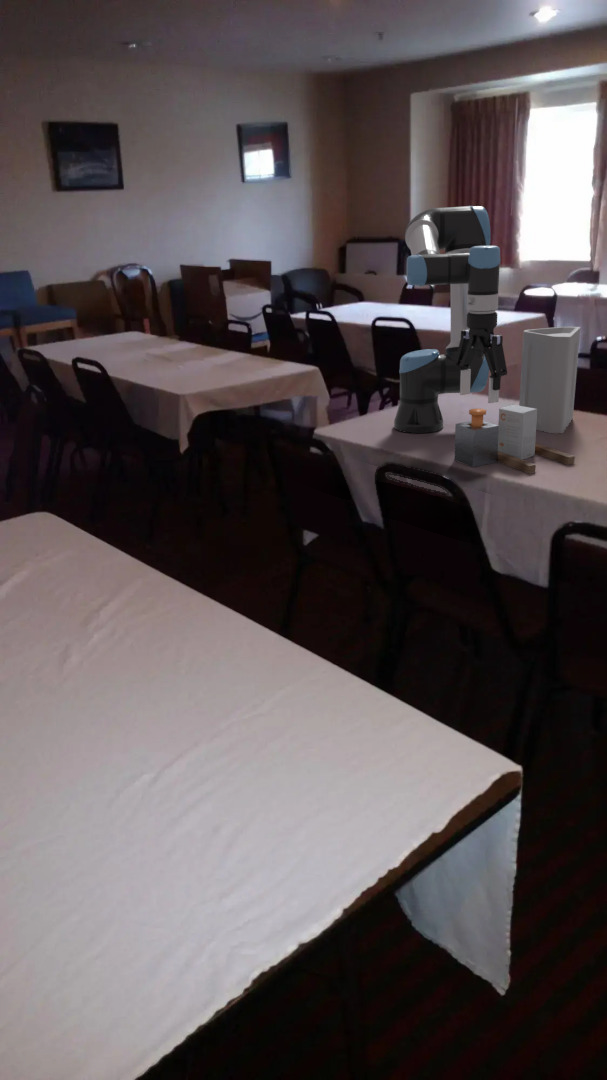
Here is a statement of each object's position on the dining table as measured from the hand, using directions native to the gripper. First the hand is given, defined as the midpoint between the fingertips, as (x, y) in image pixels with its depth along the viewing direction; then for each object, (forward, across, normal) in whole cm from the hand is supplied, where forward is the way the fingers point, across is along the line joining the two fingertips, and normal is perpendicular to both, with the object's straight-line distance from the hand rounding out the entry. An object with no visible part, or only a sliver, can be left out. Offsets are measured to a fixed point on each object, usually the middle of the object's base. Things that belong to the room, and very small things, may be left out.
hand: (478, 398), depth 209 cm
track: (+17, +6, +12) cm, 22 cm away
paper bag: (+17, -19, +40) cm, 47 cm away
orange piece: (+10, 0, 0) cm, 10 cm away
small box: (+17, +2, +12) cm, 21 cm away
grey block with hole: (+17, 0, 0) cm, 17 cm away
